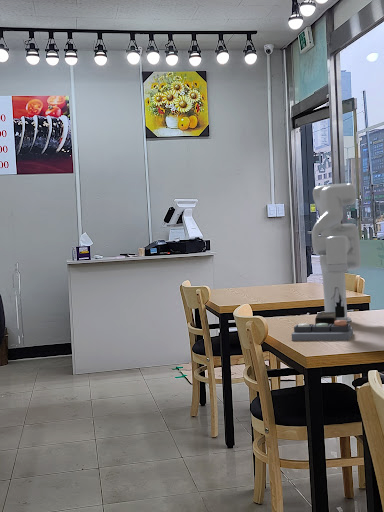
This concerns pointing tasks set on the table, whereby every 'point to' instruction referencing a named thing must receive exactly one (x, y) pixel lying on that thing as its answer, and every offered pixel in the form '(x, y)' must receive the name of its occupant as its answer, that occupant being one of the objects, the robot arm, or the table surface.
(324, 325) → the sage button
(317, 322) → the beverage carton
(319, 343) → the table surface
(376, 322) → the table surface
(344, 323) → the terracotta button
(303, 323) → the cream button
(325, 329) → the button panel
